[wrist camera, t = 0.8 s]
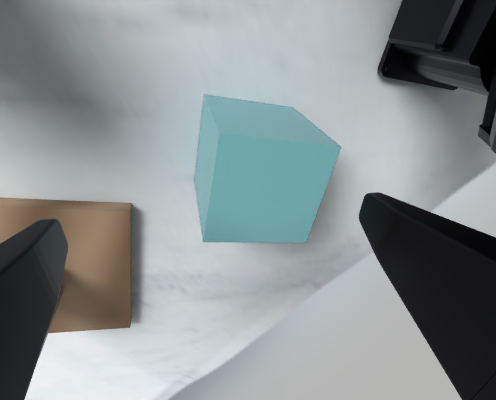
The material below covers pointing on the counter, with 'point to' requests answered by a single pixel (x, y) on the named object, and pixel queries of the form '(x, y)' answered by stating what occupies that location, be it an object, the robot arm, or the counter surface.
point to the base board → (84, 258)
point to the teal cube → (259, 172)
